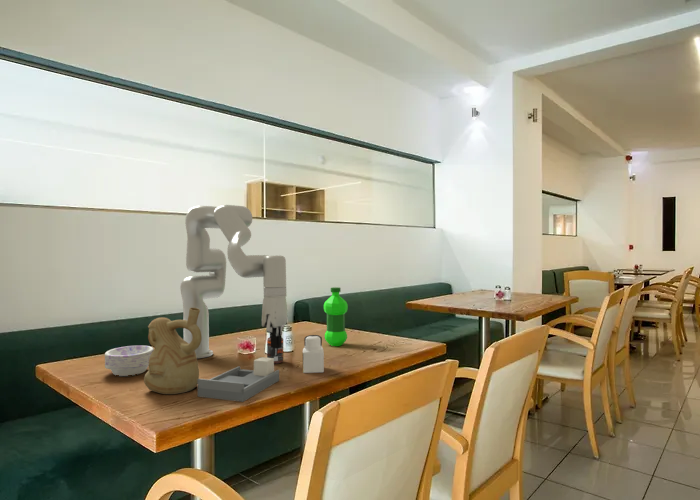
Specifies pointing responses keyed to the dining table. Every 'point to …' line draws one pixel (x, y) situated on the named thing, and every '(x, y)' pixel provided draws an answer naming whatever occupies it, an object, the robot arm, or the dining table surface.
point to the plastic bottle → (335, 318)
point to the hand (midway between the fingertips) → (276, 347)
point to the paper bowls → (128, 360)
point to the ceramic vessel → (173, 355)
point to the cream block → (263, 366)
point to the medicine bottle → (313, 354)
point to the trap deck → (235, 384)
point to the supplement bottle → (274, 352)
